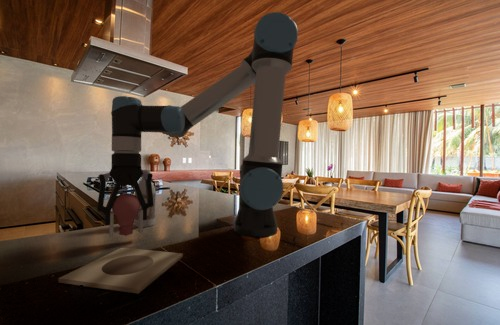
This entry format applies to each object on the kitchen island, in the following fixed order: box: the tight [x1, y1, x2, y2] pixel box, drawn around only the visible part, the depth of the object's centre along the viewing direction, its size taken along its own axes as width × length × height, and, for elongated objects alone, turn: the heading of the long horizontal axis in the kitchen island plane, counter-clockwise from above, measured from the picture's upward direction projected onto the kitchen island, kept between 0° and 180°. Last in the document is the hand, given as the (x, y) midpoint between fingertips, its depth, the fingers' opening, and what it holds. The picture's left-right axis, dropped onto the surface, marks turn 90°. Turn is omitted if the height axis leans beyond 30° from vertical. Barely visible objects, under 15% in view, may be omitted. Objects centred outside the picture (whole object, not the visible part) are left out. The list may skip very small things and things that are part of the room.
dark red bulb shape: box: [111, 192, 140, 237], centre depth 69 cm, size 7×7×12 cm
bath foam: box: [133, 169, 157, 228], centre depth 88 cm, size 7×7×20 cm
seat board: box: [58, 247, 184, 294], centre depth 53 cm, size 17×17×1 cm
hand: (126, 233), depth 69 cm, fingers closed on dark red bulb shape, 7 cm apart
